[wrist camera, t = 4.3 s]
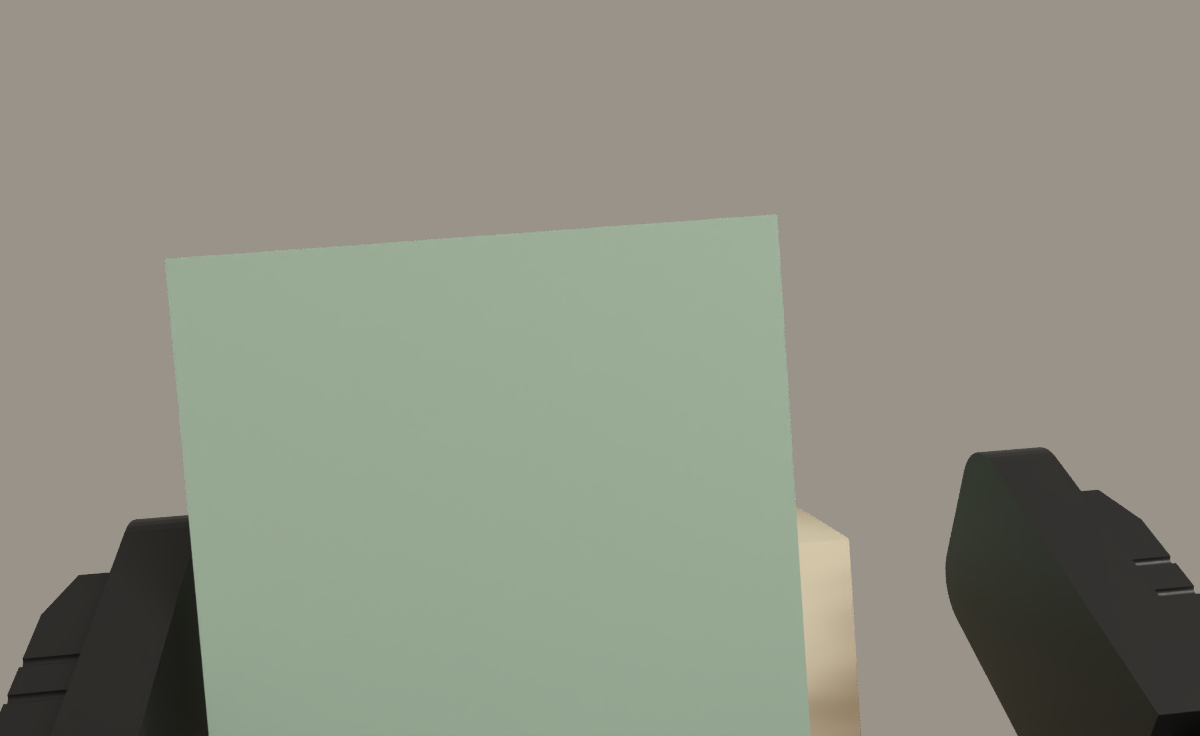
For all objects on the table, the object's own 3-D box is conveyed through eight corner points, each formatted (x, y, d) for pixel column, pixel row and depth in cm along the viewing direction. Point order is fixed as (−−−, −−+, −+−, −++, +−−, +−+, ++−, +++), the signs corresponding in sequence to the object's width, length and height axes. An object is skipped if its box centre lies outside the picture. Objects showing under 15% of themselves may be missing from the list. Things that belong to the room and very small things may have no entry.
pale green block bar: (815, 812, 9) (775, 189, 9) (219, 856, 9) (162, 235, 9) (652, 443, 35) (640, 279, 35) (494, 454, 35) (481, 290, 35)
